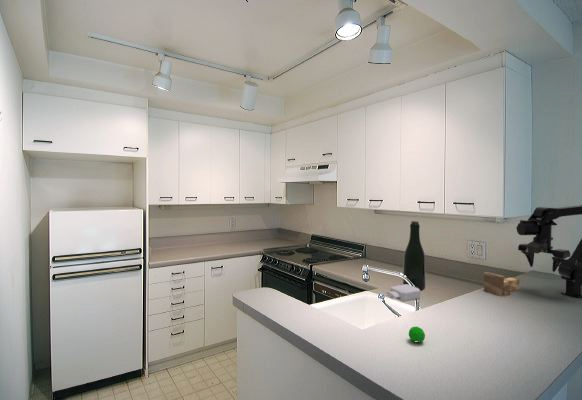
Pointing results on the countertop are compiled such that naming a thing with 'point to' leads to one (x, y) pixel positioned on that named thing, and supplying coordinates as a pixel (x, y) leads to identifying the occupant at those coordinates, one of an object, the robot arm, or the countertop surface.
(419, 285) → the dark wine bottle
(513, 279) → the oak rail
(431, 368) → the countertop surface
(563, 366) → the countertop surface
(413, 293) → the charger
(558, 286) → the countertop surface
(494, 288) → the notched wooden block
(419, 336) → the green ball
